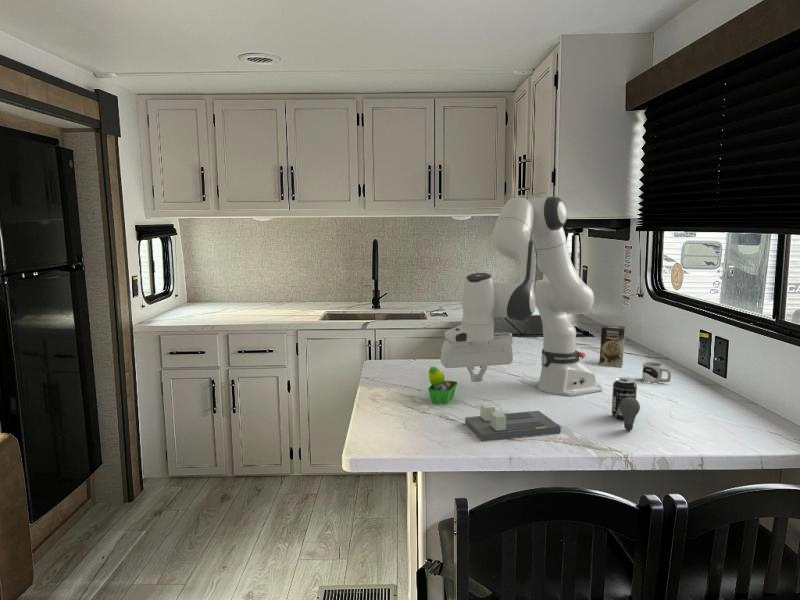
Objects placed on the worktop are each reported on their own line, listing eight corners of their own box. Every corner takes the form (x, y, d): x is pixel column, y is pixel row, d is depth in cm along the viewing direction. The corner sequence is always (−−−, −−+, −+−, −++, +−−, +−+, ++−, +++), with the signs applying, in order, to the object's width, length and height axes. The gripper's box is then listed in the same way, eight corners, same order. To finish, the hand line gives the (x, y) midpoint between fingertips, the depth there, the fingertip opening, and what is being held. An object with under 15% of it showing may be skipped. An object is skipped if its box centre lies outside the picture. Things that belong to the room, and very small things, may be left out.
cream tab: (489, 415, 179) (489, 402, 178) (494, 420, 175) (495, 407, 174) (480, 416, 178) (480, 403, 178) (485, 421, 174) (485, 408, 174)
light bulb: (640, 434, 169) (642, 400, 167) (620, 433, 170) (621, 399, 168) (636, 427, 174) (638, 394, 173) (616, 426, 175) (618, 393, 174)
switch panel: (538, 416, 184) (538, 410, 184) (560, 433, 170) (560, 426, 170) (465, 423, 178) (465, 417, 178) (482, 441, 165) (482, 433, 165)
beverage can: (615, 412, 188) (617, 375, 186) (638, 416, 183) (640, 379, 182) (608, 418, 182) (609, 380, 181) (630, 423, 178) (632, 384, 176)
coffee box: (599, 365, 243) (600, 327, 240) (600, 362, 249) (601, 324, 246) (622, 367, 239) (624, 328, 237) (623, 364, 245) (625, 325, 243)
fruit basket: (449, 406, 195) (449, 372, 193) (423, 403, 198) (423, 370, 196) (458, 395, 205) (458, 364, 204) (433, 393, 208) (433, 362, 207)
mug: (639, 381, 220) (640, 364, 219) (646, 377, 225) (647, 360, 224) (667, 387, 214) (668, 369, 213) (673, 383, 219) (674, 365, 218)
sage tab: (500, 424, 171) (500, 411, 171) (505, 429, 167) (506, 416, 167) (490, 425, 170) (490, 412, 170) (495, 430, 167) (496, 417, 166)
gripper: (508, 328, 169) (506, 375, 171) (439, 332, 164) (438, 380, 166) (517, 333, 162) (516, 381, 165) (446, 336, 158) (445, 386, 160)
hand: (476, 381), depth 165 cm, fingers closed
